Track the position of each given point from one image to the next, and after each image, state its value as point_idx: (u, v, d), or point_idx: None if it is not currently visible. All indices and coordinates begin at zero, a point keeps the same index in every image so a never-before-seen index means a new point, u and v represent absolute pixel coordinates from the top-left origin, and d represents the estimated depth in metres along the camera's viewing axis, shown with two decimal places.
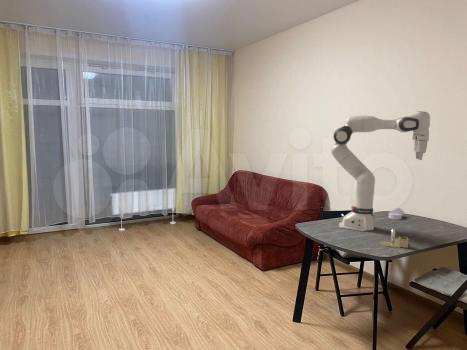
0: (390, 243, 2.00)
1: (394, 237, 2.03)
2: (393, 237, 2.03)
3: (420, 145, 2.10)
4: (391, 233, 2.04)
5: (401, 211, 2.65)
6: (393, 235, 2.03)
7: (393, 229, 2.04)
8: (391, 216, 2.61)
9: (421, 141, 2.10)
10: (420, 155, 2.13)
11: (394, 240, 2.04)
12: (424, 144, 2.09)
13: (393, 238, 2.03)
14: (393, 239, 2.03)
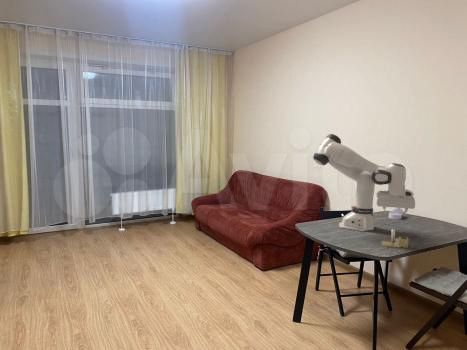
0: (390, 243, 2.00)
1: (394, 237, 2.03)
2: (393, 237, 2.03)
3: (414, 201, 1.97)
4: (391, 233, 2.04)
5: (401, 211, 2.65)
6: (393, 235, 2.03)
7: (393, 229, 2.04)
8: (391, 216, 2.61)
9: None
10: None
11: (394, 240, 2.04)
12: None
13: (393, 238, 2.03)
14: (393, 239, 2.03)
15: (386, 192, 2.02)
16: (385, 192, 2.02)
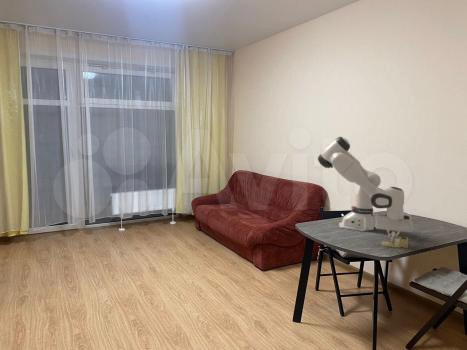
0: (390, 243, 2.00)
1: (394, 237, 2.03)
2: (393, 237, 2.03)
3: (412, 224, 1.99)
4: (391, 233, 2.04)
5: None
6: (393, 235, 2.03)
7: None
8: None
9: None
10: None
11: (394, 240, 2.04)
12: None
13: (393, 238, 2.03)
14: (393, 239, 2.03)
15: (384, 215, 2.04)
16: (383, 215, 2.04)
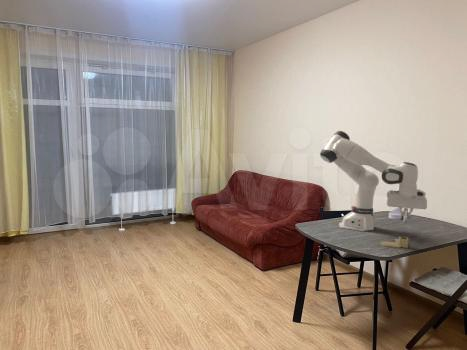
0: (390, 243, 2.00)
1: None
2: (406, 216, 1.94)
3: (426, 201, 1.90)
4: None
5: None
6: (406, 214, 1.94)
7: (406, 208, 1.95)
8: (391, 216, 2.61)
9: (424, 196, 1.90)
10: None
11: None
12: None
13: (406, 217, 1.95)
14: (406, 218, 1.95)
15: (397, 192, 1.95)
16: (396, 192, 1.95)
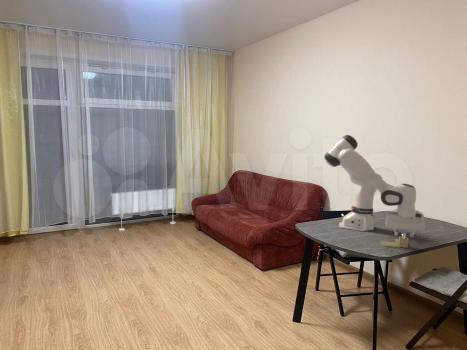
0: (390, 243, 2.00)
1: None
2: None
3: (424, 222, 1.91)
4: None
5: None
6: None
7: (404, 233, 1.97)
8: None
9: None
10: None
11: None
12: None
13: None
14: None
15: (395, 213, 1.97)
16: (394, 213, 1.97)
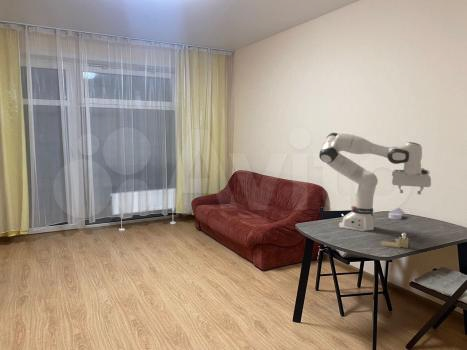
0: (390, 243, 2.00)
1: None
2: None
3: (430, 179, 1.98)
4: None
5: (401, 211, 2.65)
6: None
7: (404, 233, 1.97)
8: (391, 216, 2.61)
9: (428, 175, 1.98)
10: None
11: None
12: None
13: None
14: None
15: (402, 171, 2.03)
16: (401, 171, 2.03)
